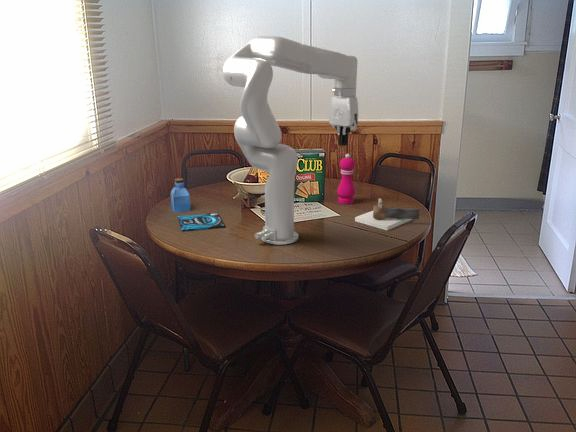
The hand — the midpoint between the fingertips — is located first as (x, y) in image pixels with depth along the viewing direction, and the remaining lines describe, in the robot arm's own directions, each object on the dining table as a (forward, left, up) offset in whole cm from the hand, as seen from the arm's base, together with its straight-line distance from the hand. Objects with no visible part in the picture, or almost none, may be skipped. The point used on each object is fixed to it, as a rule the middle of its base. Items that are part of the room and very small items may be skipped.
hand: (342, 145), depth 192 cm
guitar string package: (-41, +31, -28) cm, 58 cm away
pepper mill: (+16, +10, -27) cm, 33 cm away
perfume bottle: (-37, +49, -27) cm, 67 cm away
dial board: (+8, -14, -27) cm, 32 cm away
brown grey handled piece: (+9, -19, -25) cm, 32 cm away
